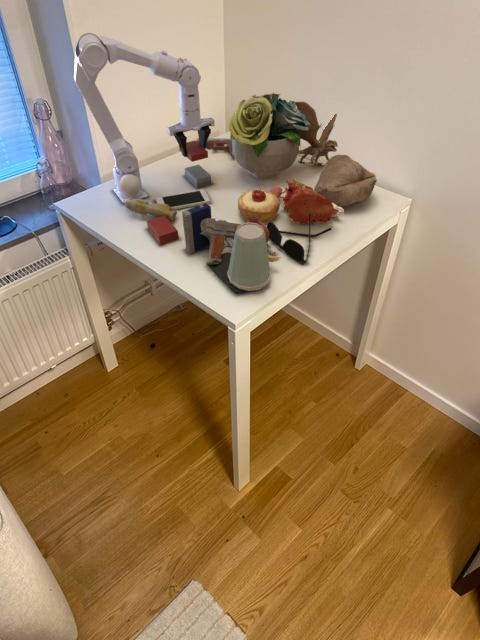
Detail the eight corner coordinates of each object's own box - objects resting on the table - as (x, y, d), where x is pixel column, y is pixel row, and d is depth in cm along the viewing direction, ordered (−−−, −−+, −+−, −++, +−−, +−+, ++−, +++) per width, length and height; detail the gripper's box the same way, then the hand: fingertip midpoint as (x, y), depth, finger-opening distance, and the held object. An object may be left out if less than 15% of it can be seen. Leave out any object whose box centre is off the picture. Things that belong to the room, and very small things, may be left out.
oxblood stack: (147, 229, 137) (146, 220, 135) (166, 223, 139) (164, 214, 137) (160, 245, 131) (158, 236, 129) (179, 239, 133) (178, 230, 131)
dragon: (314, 164, 148) (321, 98, 143) (266, 162, 168) (270, 104, 162) (353, 167, 157) (361, 105, 152) (303, 165, 177) (308, 109, 171)
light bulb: (117, 209, 143) (114, 174, 138) (128, 204, 148) (126, 171, 143) (134, 212, 142) (132, 177, 137) (145, 207, 146) (143, 173, 142)
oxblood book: (179, 150, 151) (178, 144, 150) (195, 146, 153) (194, 140, 152) (191, 162, 145) (191, 155, 144) (208, 157, 147) (207, 151, 146)
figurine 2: (295, 217, 143) (306, 198, 145) (293, 210, 140) (304, 191, 142) (260, 206, 148) (271, 188, 150) (257, 199, 145) (269, 180, 147)
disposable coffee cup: (218, 225, 110) (219, 273, 121) (242, 252, 104) (241, 301, 115) (258, 211, 114) (255, 260, 125) (284, 237, 108) (278, 285, 119)
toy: (265, 240, 131) (258, 241, 131) (279, 255, 126) (272, 256, 125) (264, 244, 132) (257, 245, 131) (278, 259, 127) (271, 260, 126)
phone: (236, 292, 116) (204, 260, 125) (236, 295, 116) (204, 263, 125) (261, 281, 118) (229, 251, 128) (261, 284, 119) (229, 253, 128)
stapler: (307, 194, 144) (303, 199, 144) (307, 185, 139) (303, 189, 139) (343, 218, 140) (339, 222, 140) (344, 209, 135) (340, 213, 135)
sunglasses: (341, 250, 130) (344, 234, 127) (299, 266, 124) (301, 250, 121) (302, 220, 140) (304, 204, 136) (261, 234, 134) (262, 218, 130)
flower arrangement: (254, 150, 172) (255, 77, 155) (316, 169, 162) (324, 92, 145) (211, 178, 158) (206, 100, 141) (276, 201, 147) (279, 119, 130)
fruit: (245, 261, 126) (245, 228, 119) (233, 245, 131) (232, 212, 124) (273, 254, 128) (275, 221, 121) (260, 238, 133) (261, 205, 126)
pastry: (232, 221, 139) (231, 193, 133) (245, 201, 147) (245, 174, 141) (272, 229, 136) (273, 201, 130) (284, 208, 144) (285, 180, 138)
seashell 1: (276, 202, 126) (335, 194, 122) (275, 165, 128) (333, 156, 125) (288, 230, 142) (340, 223, 138) (286, 196, 144) (338, 189, 141)
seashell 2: (392, 177, 140) (359, 139, 135) (358, 222, 138) (323, 185, 133) (361, 184, 154) (330, 150, 149) (330, 224, 153) (298, 191, 148)
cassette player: (208, 240, 133) (206, 201, 124) (213, 244, 131) (211, 205, 123) (185, 250, 130) (180, 210, 121) (189, 254, 128) (185, 214, 120)
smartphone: (155, 200, 148) (155, 197, 148) (204, 191, 152) (204, 189, 151) (160, 212, 143) (160, 209, 143) (210, 203, 147) (210, 200, 146)
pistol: (210, 262, 120) (203, 215, 121) (204, 265, 122) (197, 218, 123) (260, 265, 134) (254, 223, 135) (254, 267, 135) (248, 226, 136)
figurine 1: (179, 208, 142) (131, 193, 142) (176, 205, 136) (125, 189, 137) (174, 225, 142) (126, 210, 143) (170, 223, 137) (120, 207, 137)
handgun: (192, 158, 168) (196, 145, 177) (248, 158, 168) (249, 145, 177) (191, 149, 166) (196, 136, 175) (248, 150, 165) (249, 136, 174)
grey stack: (184, 176, 160) (184, 167, 157) (199, 172, 161) (198, 164, 159) (197, 188, 154) (196, 179, 152) (211, 184, 156) (211, 175, 153)
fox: (227, 254, 120) (229, 247, 120) (240, 267, 128) (241, 260, 128) (273, 256, 115) (275, 249, 115) (284, 269, 123) (285, 262, 123)
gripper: (172, 117, 134) (177, 164, 144) (218, 107, 140) (220, 153, 149) (162, 109, 139) (167, 155, 148) (207, 99, 144) (209, 144, 153)
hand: (193, 153), depth 149 cm, fingers closed on oxblood book, 5 cm apart
